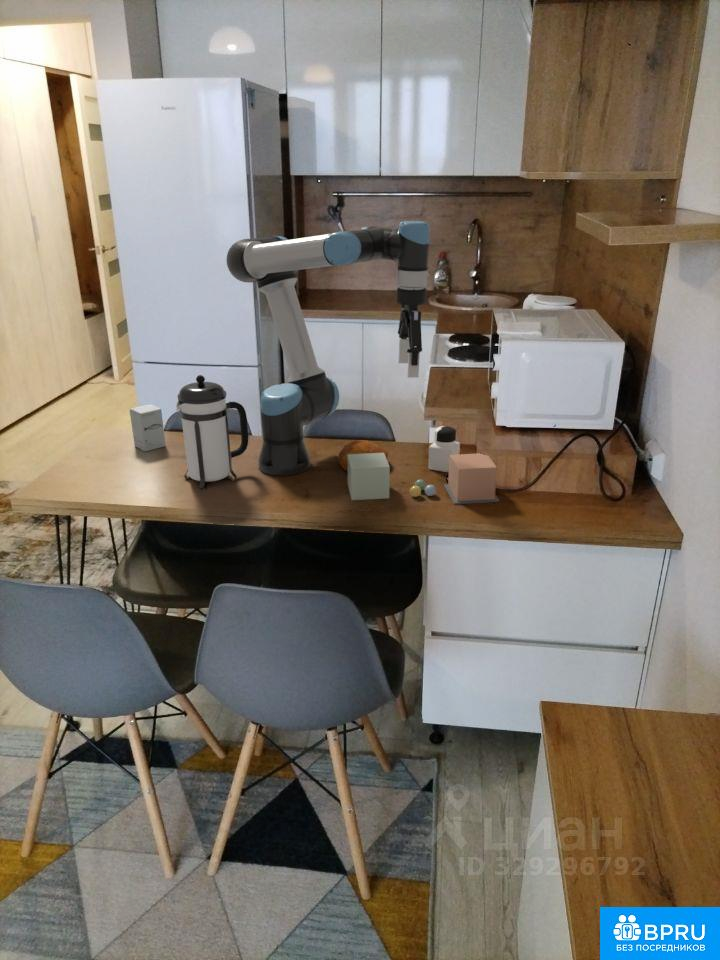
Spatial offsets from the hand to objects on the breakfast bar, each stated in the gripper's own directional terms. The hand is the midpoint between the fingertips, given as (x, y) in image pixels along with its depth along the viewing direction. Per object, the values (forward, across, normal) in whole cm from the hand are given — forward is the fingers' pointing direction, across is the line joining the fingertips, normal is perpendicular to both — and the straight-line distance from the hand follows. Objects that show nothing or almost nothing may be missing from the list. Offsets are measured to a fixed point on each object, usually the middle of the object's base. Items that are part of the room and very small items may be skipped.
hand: (408, 369), depth 182 cm
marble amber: (+31, -13, -1) cm, 33 cm away
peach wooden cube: (+30, -13, -16) cm, 36 cm away
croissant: (+32, +11, +10) cm, 35 cm away
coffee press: (+32, +7, +53) cm, 63 cm away
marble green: (+31, -9, -3) cm, 32 cm away
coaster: (+30, -13, -16) cm, 37 cm away
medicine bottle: (+31, +6, -13) cm, 34 cm away
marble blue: (+31, -13, -5) cm, 34 cm away
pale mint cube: (+31, -8, +11) cm, 34 cm away
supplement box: (+34, +35, +75) cm, 89 cm away
